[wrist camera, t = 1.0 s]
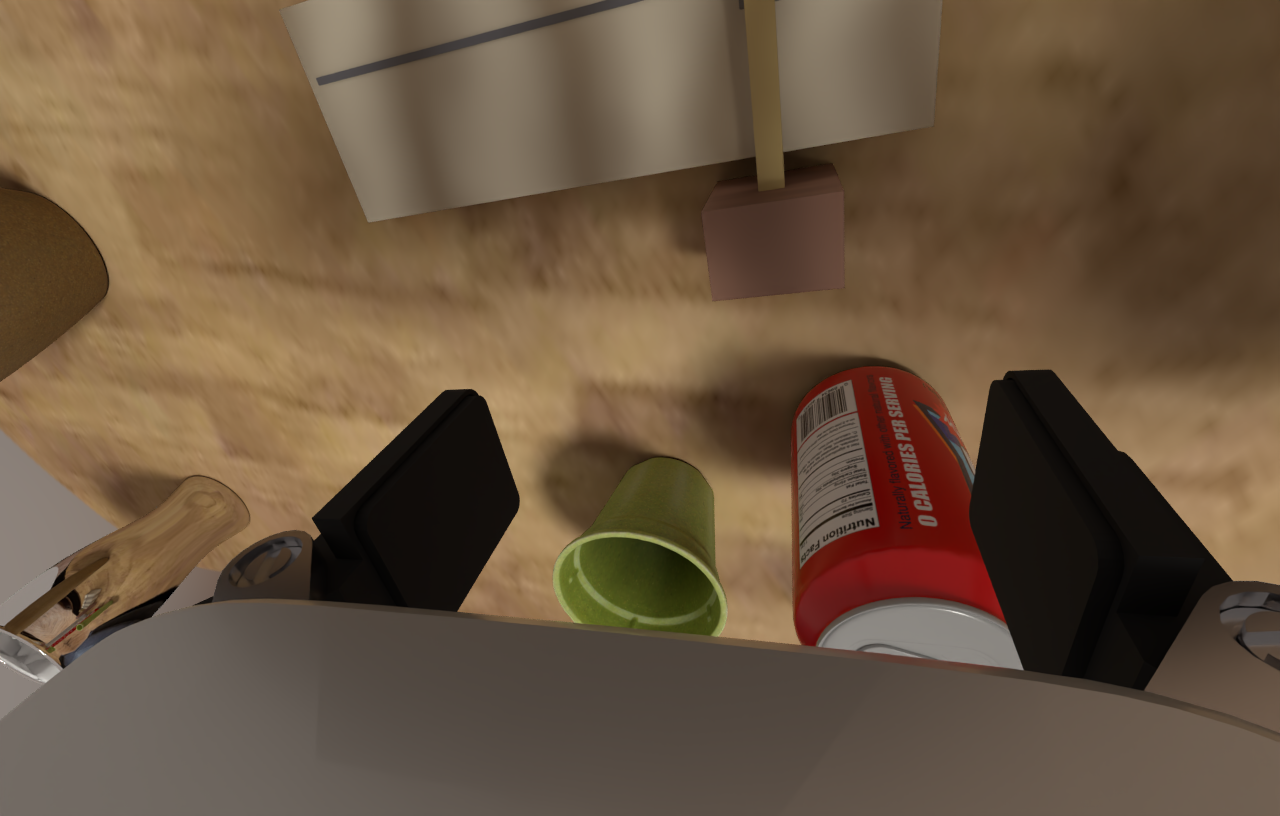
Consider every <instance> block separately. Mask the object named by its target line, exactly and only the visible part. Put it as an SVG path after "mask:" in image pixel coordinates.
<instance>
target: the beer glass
mask: <svg viewBox="0 0 1280 816" xmlns="http://www.w3.org/2000/svg"><path fill="white" fill-rule="evenodd" d="M248 524H249V513H248V510H247V508H246V506H245V505H244V503H243V502H242V501H241V499H240V498H239V497H238V496H237V495H236V494H235V493H234V492H233V491H231V490H230V489H229V488H227V487H226V486H224V485H223V484H221V483H219V482H217V481H215V480H213V479H210V478H207V477H202V476H194V477H190V478H188V479H186V480H185V481H184V482H183V483H182V484H181V485H180V486H179V487H178V488H177V489H176V490H175V491H174V492H173V493H172V494H171V495H170V496H169V497H168V498H167V499H166V500H165V501H164V502H162V503H161V504H160V505H159V506H157V507H156V508H155V509H154V510H152V511H150V512H149V513H147V514H146V515H144V516H143V517H141V518H139V519H137V520H135V521H134V522H132V523H130V524H128V525H126V526H124V527H122V528H120V529H118V530H116V531H115V532H113V533H110V534H109V535H107V536H105V537H103V538H101V539H99V540H97V541H95V542H93V543H91V544H89V545H87V546H85V547H84V548H82V549H80V550H78V551H77V552H75V553H73V554H72V555H70V556H68V557H66V558H65V559H63V560H61V561H60V562H58V563H57V564H55V565H54V566H52V567H51V568H49V569H48V570H46V571H45V572H43V573H42V574H40V575H39V576H38V577H36V578H35V579H33V580H32V581H31V582H29V583H28V584H27V585H25V586H24V587H23V588H21V589H20V590H19V591H18V592H16V593H15V594H14V595H12V596H11V597H10V598H8V599H7V600H6V601H5V602H4V603H2V604H1V605H0V663H1V664H2V665H4V666H5V667H7V668H9V669H10V670H12V671H14V672H15V673H17V674H19V675H21V676H23V677H25V678H27V679H29V680H31V681H33V682H35V683H38V684H41V685H44V684H45V683H46V682H47V681H49V680H50V679H51V678H52V677H54V676H55V675H56V674H58V673H59V672H60V671H62V670H63V669H64V668H65V667H67V666H68V665H69V664H71V663H72V662H73V661H74V660H76V659H77V658H78V657H80V656H81V655H82V654H83V653H85V652H86V651H87V650H89V649H90V648H92V647H93V646H94V645H96V644H97V643H99V642H100V641H101V640H103V639H105V638H106V637H108V636H110V635H111V634H113V633H115V632H117V631H119V630H121V629H123V628H125V627H128V626H130V625H133V624H135V623H138V622H140V621H143V620H145V619H148V618H151V617H152V616H153V615H154V614H155V613H156V612H157V611H158V609H159V608H160V607H161V606H162V605H163V604H164V603H165V602H166V600H168V598H169V597H170V596H171V595H172V594H173V592H174V591H175V590H176V589H177V588H178V587H179V585H180V584H181V583H182V582H183V580H184V579H185V578H186V576H188V575H189V573H190V572H191V571H192V570H193V569H194V568H195V566H196V565H197V564H198V563H199V562H200V561H201V560H202V559H203V558H204V557H205V556H206V555H207V554H208V553H209V552H211V551H212V550H213V549H214V548H216V547H217V546H219V545H220V544H221V543H223V542H225V541H226V540H228V539H229V538H231V537H233V536H234V535H236V534H238V533H239V532H241V531H242V530H244V529H245V528H246V527H247V525H248Z"/></svg>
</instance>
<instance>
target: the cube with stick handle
mask: <svg viewBox="0 0 1280 816" xmlns="http://www.w3.org/2000/svg"><path fill="white" fill-rule="evenodd" d="M775 1H779V0H739V9H740V10H743V9H744V10H745V23H746V36H747V49H748V62H749V75H750V88H751V101H752V114H753V127H754V140H755V153H756V166H757V175H756V176H749V177H743V178H737V179H731V180H725V181H718V182H717V184H716V186H715V188H714V189H713V191H712V193H711V195H710V197H709V199H708V200H707V202H706V204H705V206H704V208H703V210H702V211H701V215H702V223H703V231H704V238H705V246H706V254H707V262H708V270H709V277H710V285H711V293H712V301H720V300H730V299H740V298H750V297H760V296H770V295H780V294H790V293H800V292H810V291H820V290H830V289H840V288H845V277H844V190H843V187H842V185H841V182H840V180H839V178H838V175H837V173H836V170H835V168H834V165H833V163H830V164H824V165H818V166H812V167H805V168H799V169H793V170H787V171H784V159H783V140H782V122H781V103H780V85H779V66H778V48H777V30H776V11H775Z"/></svg>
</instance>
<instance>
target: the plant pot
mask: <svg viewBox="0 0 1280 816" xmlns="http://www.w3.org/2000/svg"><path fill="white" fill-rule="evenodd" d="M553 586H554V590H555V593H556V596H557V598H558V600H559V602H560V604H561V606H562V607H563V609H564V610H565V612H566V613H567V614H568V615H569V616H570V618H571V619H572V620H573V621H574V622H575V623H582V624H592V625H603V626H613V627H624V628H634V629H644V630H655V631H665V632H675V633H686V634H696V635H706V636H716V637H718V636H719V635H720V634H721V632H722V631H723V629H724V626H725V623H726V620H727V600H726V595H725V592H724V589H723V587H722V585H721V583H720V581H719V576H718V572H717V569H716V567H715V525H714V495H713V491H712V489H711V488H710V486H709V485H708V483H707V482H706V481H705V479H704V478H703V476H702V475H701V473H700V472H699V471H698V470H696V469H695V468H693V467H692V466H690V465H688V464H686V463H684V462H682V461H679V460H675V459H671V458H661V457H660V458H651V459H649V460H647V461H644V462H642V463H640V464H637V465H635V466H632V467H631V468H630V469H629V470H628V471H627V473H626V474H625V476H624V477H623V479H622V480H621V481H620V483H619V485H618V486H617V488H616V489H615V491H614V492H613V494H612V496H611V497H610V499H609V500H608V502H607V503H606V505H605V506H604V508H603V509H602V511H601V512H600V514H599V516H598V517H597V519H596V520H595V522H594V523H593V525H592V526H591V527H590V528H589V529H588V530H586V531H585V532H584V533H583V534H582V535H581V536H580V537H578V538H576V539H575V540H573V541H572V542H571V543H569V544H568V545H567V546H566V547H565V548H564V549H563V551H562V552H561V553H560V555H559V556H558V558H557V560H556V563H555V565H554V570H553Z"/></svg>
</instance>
